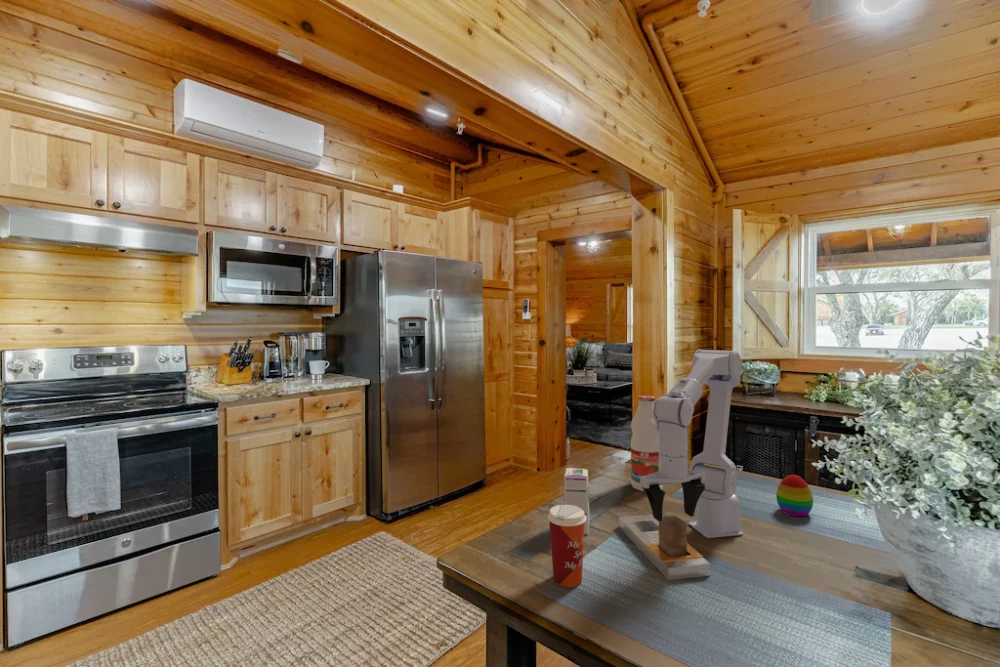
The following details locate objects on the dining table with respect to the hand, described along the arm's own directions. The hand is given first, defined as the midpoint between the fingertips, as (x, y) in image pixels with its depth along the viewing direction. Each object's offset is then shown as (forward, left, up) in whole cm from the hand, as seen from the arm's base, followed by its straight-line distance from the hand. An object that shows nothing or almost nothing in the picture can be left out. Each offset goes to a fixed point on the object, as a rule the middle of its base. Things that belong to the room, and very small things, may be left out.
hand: (673, 516), depth 98 cm
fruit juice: (-15, -42, -10) cm, 46 cm away
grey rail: (0, -6, -10) cm, 11 cm away
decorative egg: (-44, -17, -10) cm, 48 cm away
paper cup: (+24, +2, -10) cm, 26 cm away
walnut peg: (0, 0, -10) cm, 10 cm away
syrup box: (+15, -19, -10) cm, 26 cm away
